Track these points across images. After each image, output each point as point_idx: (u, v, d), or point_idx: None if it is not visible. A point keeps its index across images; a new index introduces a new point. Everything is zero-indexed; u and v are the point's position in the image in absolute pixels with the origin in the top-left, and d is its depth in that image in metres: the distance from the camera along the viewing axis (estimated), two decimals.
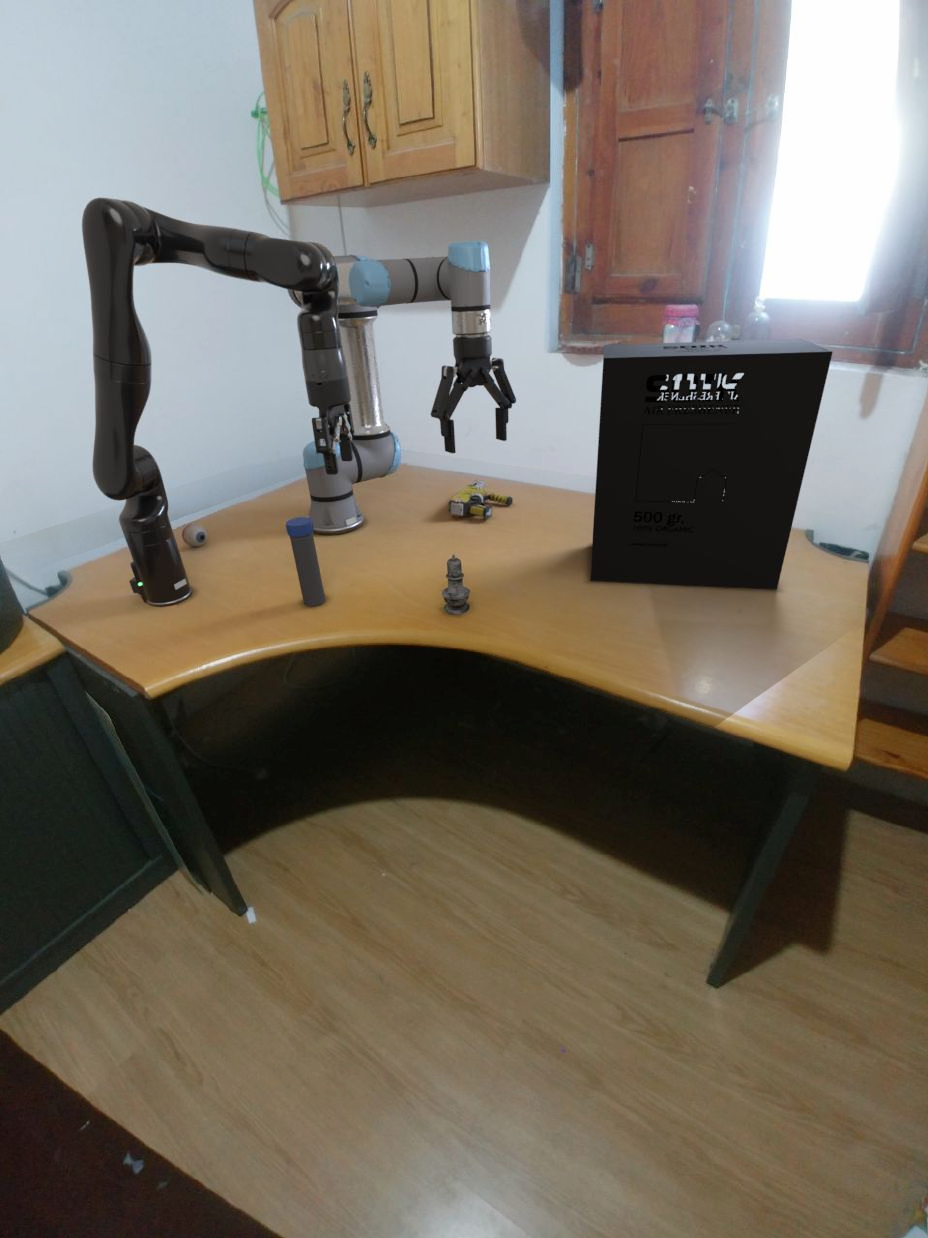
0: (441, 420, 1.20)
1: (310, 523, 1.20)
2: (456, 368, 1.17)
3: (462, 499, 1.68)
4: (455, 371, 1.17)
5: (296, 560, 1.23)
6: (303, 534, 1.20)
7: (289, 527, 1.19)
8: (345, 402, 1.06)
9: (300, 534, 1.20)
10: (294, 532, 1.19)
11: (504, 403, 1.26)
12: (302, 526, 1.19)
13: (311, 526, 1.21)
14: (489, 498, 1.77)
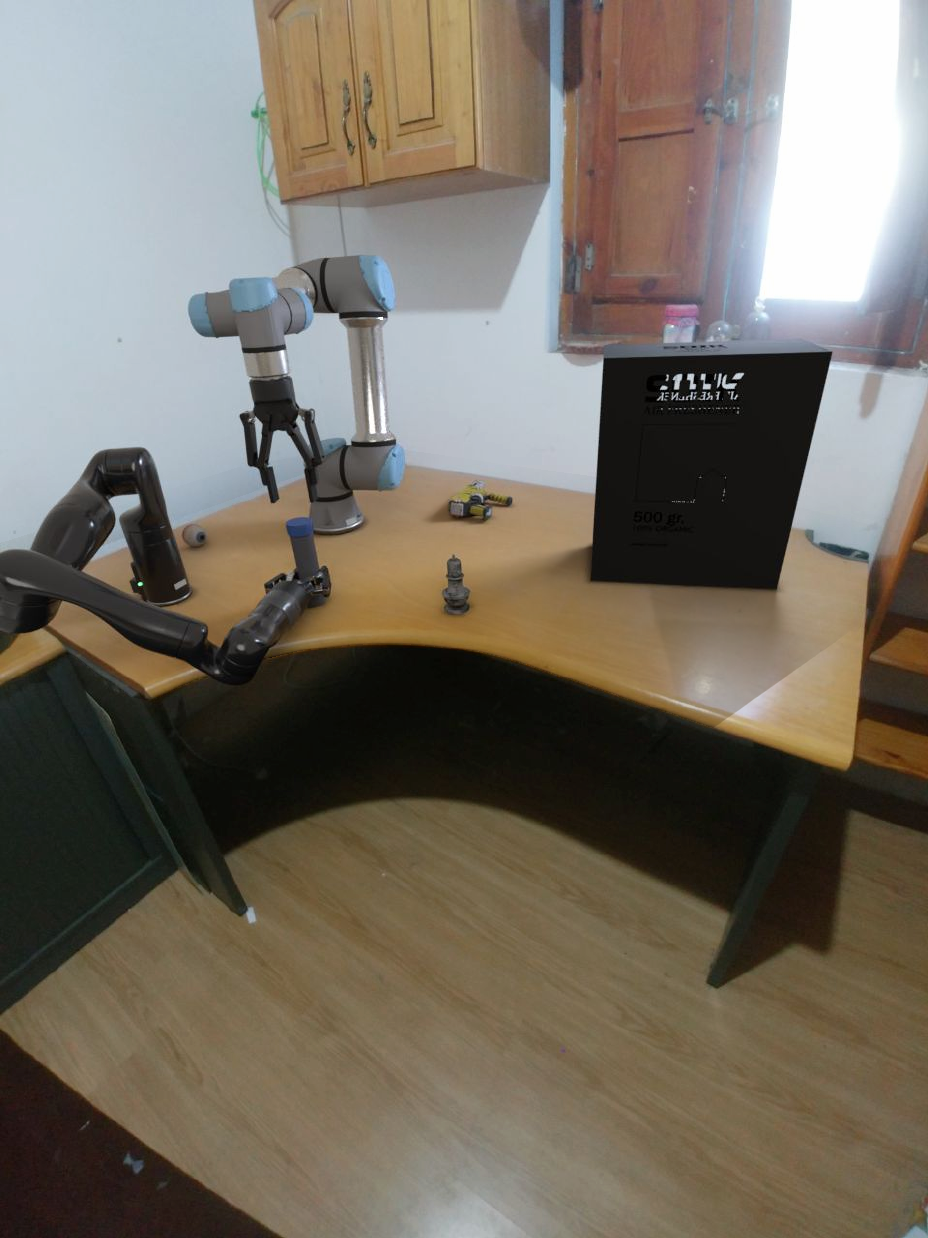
0: (316, 466, 1.15)
1: (310, 523, 1.20)
2: None
3: (462, 499, 1.68)
4: None
5: (296, 560, 1.23)
6: (303, 534, 1.20)
7: (289, 527, 1.19)
8: (294, 582, 1.16)
9: (300, 534, 1.20)
10: (294, 532, 1.19)
11: None
12: (302, 526, 1.19)
13: (311, 526, 1.21)
14: (489, 498, 1.77)
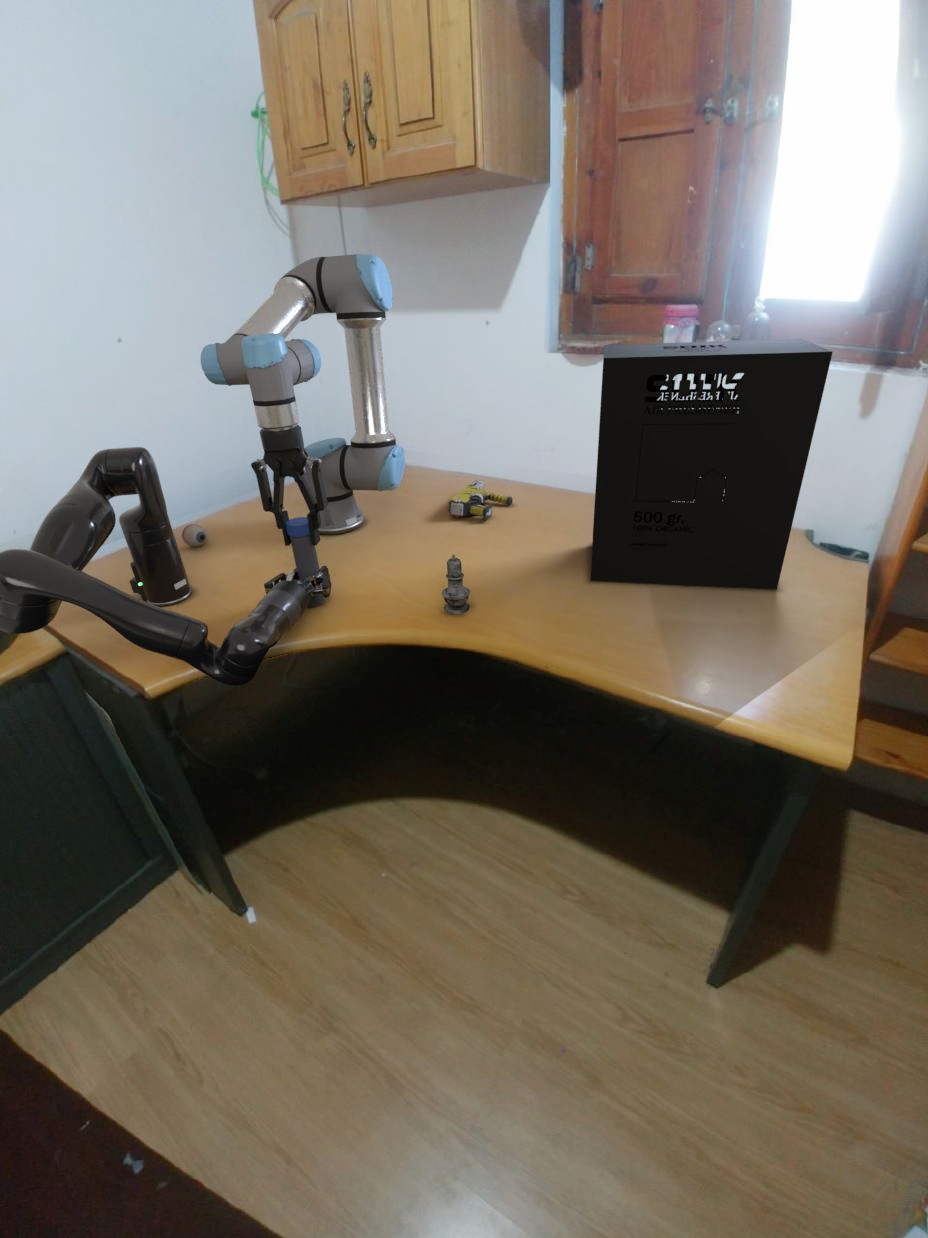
0: (319, 511, 1.19)
1: None
2: None
3: (462, 499, 1.68)
4: None
5: (296, 560, 1.23)
6: (303, 534, 1.20)
7: (289, 527, 1.19)
8: (294, 582, 1.16)
9: (300, 534, 1.20)
10: (294, 532, 1.19)
11: None
12: (302, 526, 1.19)
13: None
14: (489, 498, 1.77)
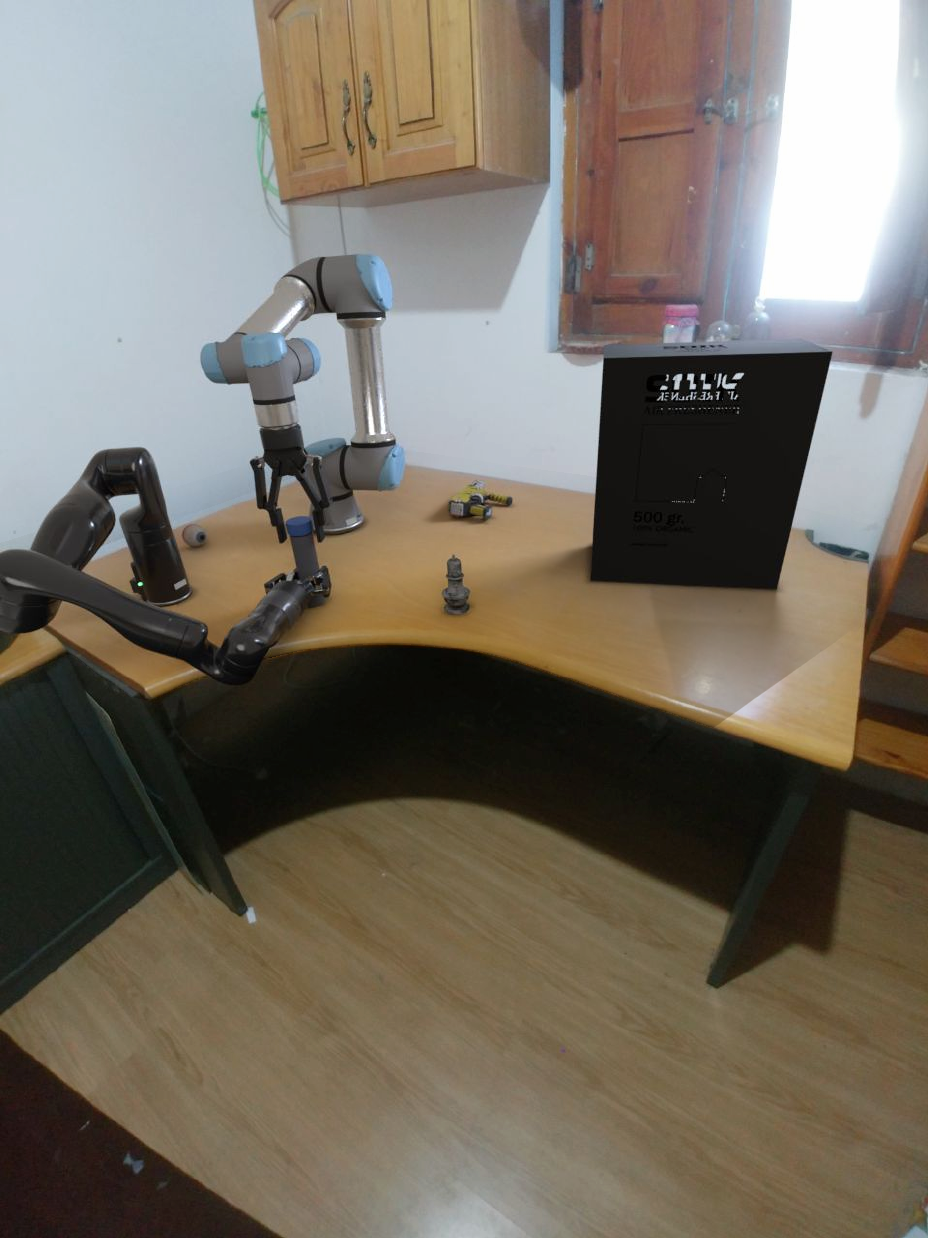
0: (324, 508, 1.19)
1: None
2: None
3: (462, 499, 1.68)
4: None
5: (296, 560, 1.23)
6: None
7: (307, 524, 1.20)
8: (294, 582, 1.16)
9: (312, 527, 1.22)
10: (311, 527, 1.21)
11: None
12: None
13: None
14: (489, 498, 1.77)
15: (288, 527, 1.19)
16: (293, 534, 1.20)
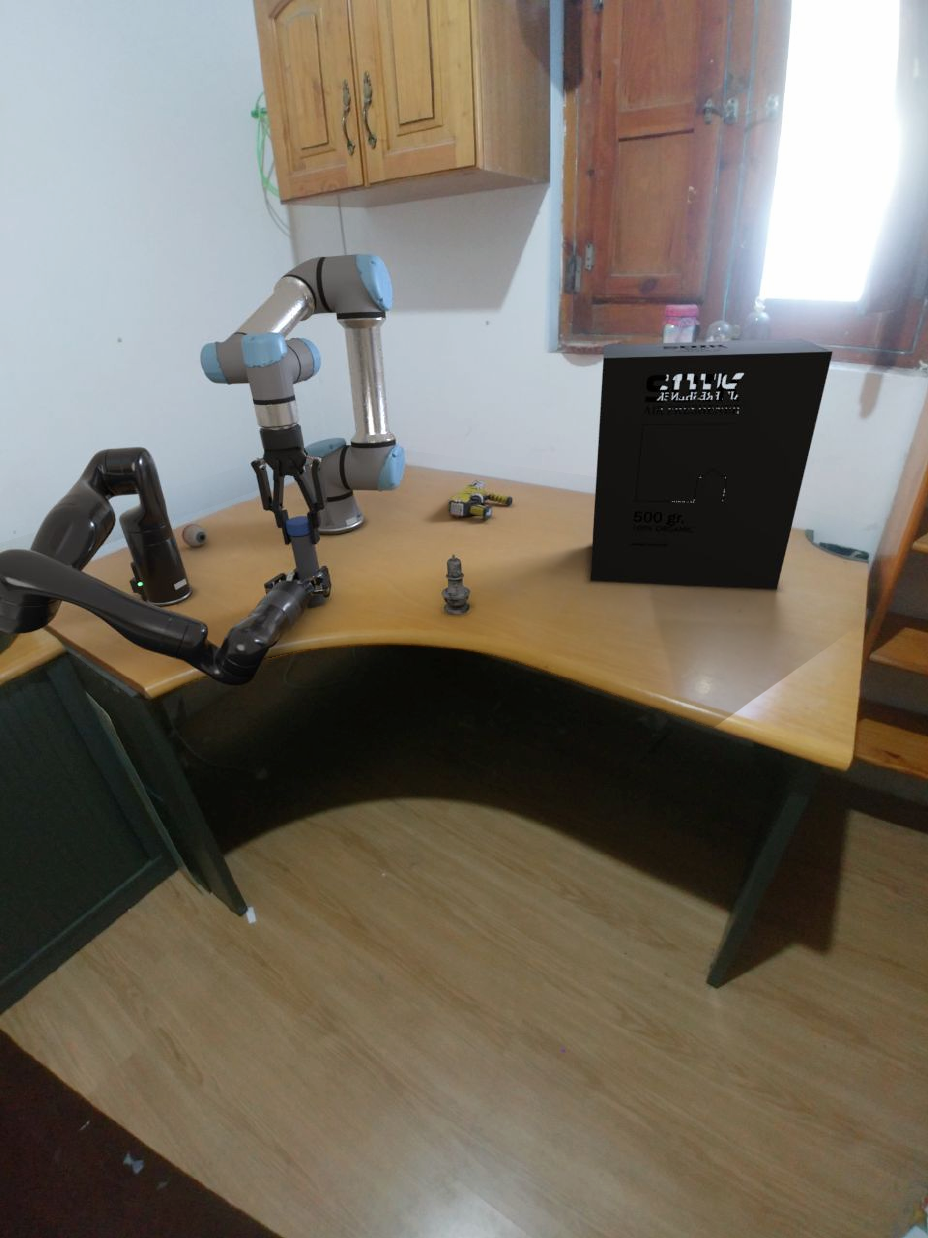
0: (318, 510, 1.19)
1: None
2: None
3: (462, 499, 1.68)
4: None
5: (296, 560, 1.23)
6: None
7: (307, 524, 1.20)
8: (294, 582, 1.16)
9: None
10: None
11: None
12: None
13: None
14: (489, 498, 1.77)
15: (288, 527, 1.19)
16: (293, 534, 1.20)
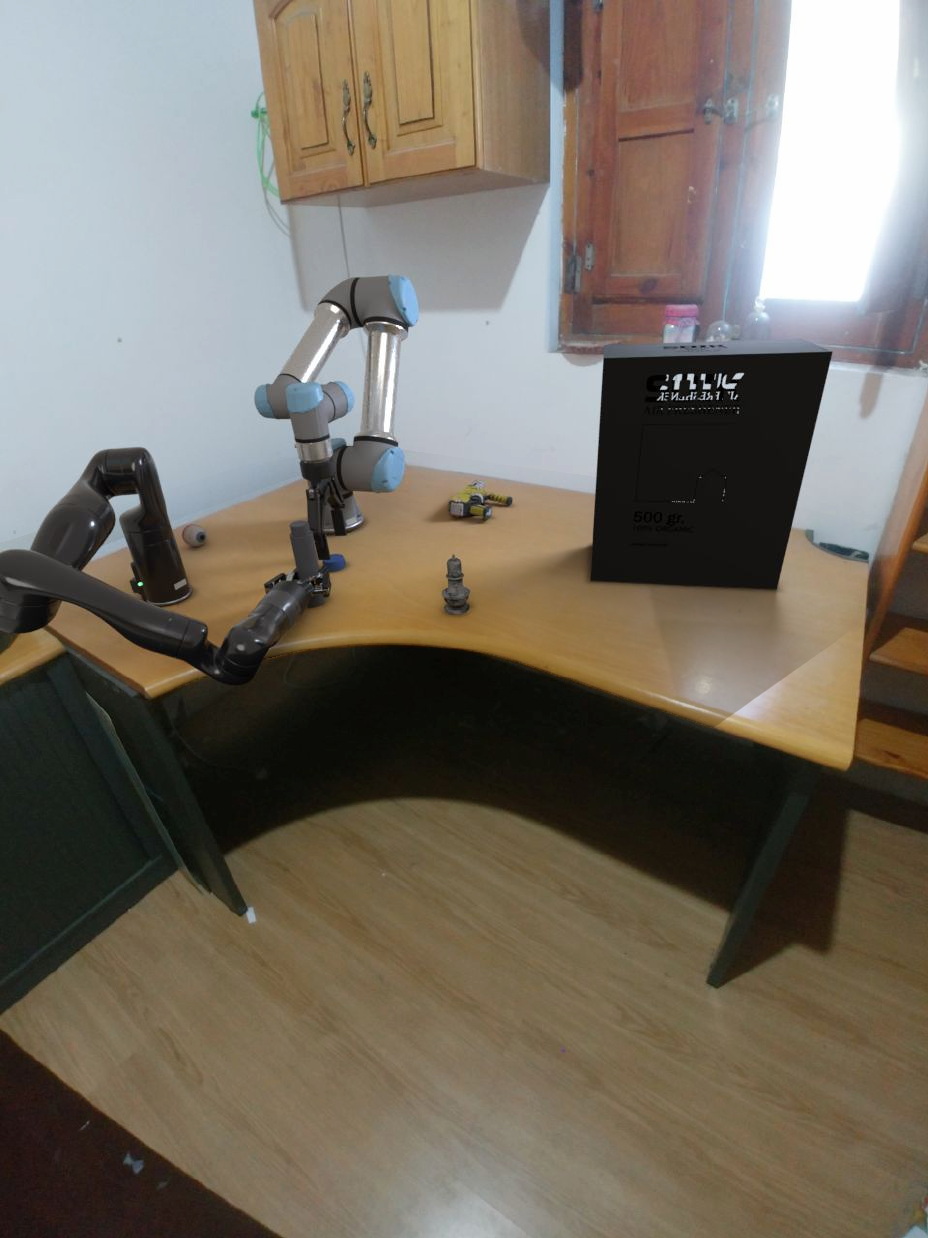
0: None
1: None
2: None
3: (462, 499, 1.68)
4: None
5: (296, 560, 1.23)
6: None
7: None
8: (294, 582, 1.16)
9: None
10: None
11: None
12: None
13: None
14: (489, 498, 1.77)
15: (340, 563, 1.43)
16: (343, 567, 1.44)
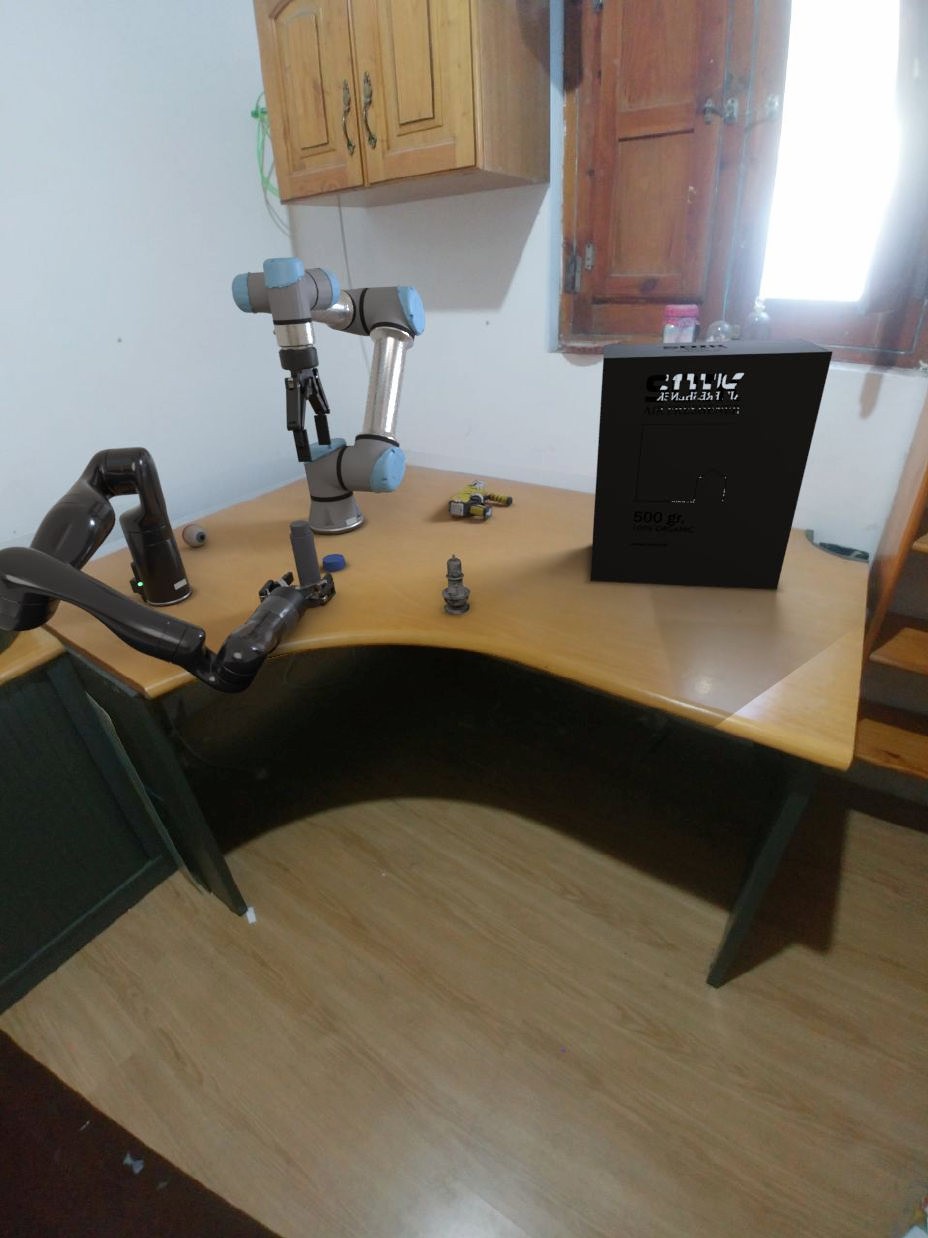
0: None
1: None
2: None
3: (462, 499, 1.68)
4: None
5: (296, 560, 1.23)
6: None
7: None
8: (292, 588, 1.15)
9: None
10: None
11: None
12: None
13: None
14: (489, 498, 1.77)
15: (340, 563, 1.43)
16: (343, 567, 1.44)
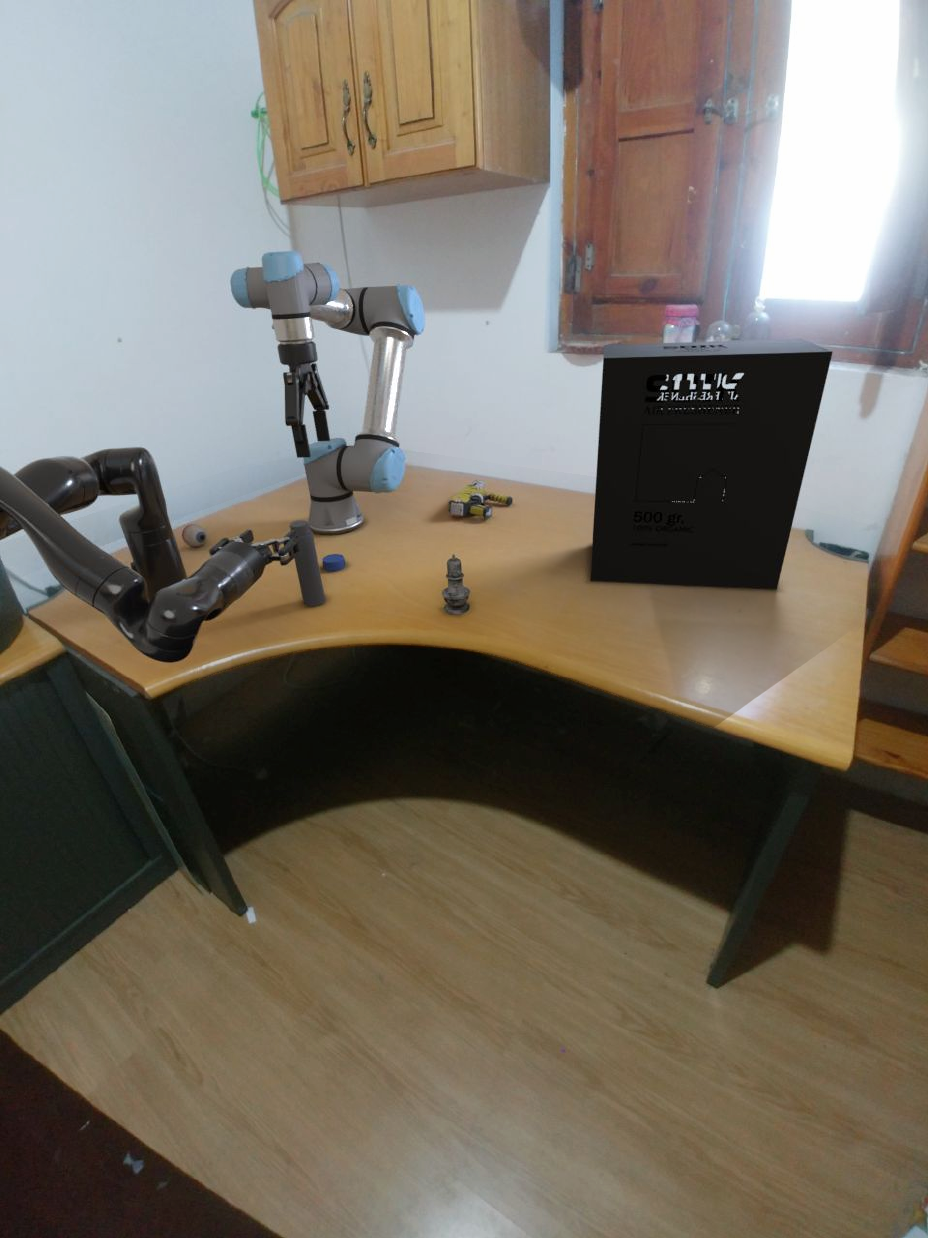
0: None
1: None
2: None
3: (462, 499, 1.68)
4: None
5: (296, 560, 1.23)
6: None
7: None
8: (246, 543, 0.98)
9: None
10: None
11: None
12: None
13: None
14: (489, 498, 1.77)
15: (340, 563, 1.43)
16: (343, 567, 1.44)
